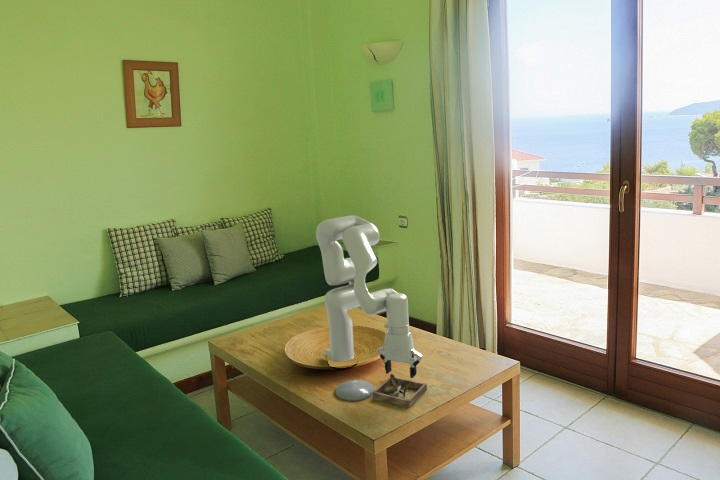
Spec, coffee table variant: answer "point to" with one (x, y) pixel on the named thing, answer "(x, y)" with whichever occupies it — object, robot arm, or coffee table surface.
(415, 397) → the walnut frame
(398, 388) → the eagle figurine
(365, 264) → the robot arm
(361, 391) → the grey round plate
